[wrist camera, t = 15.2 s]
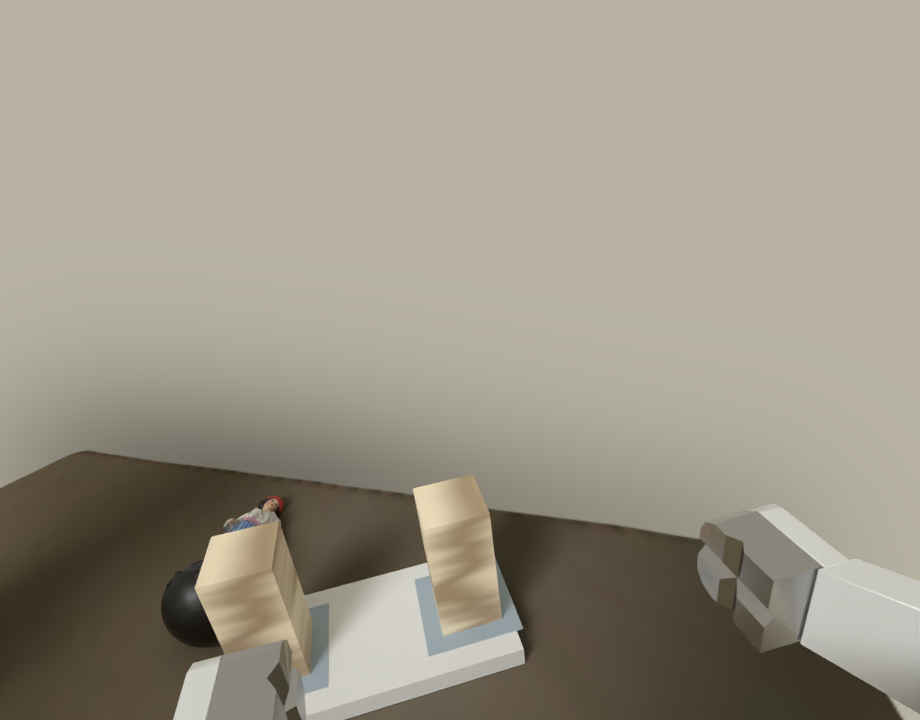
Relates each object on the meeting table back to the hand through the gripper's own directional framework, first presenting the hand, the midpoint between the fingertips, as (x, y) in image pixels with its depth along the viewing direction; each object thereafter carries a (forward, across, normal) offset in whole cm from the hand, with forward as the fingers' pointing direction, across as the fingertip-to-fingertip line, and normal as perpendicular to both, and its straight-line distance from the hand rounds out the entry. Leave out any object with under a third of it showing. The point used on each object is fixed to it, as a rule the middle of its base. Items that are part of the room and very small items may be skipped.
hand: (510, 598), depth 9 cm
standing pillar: (+21, -12, -25) cm, 35 cm away
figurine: (+32, -17, -27) cm, 45 cm away
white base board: (+21, -5, -26) cm, 34 cm away
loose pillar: (+21, +2, -25) cm, 32 cm away
